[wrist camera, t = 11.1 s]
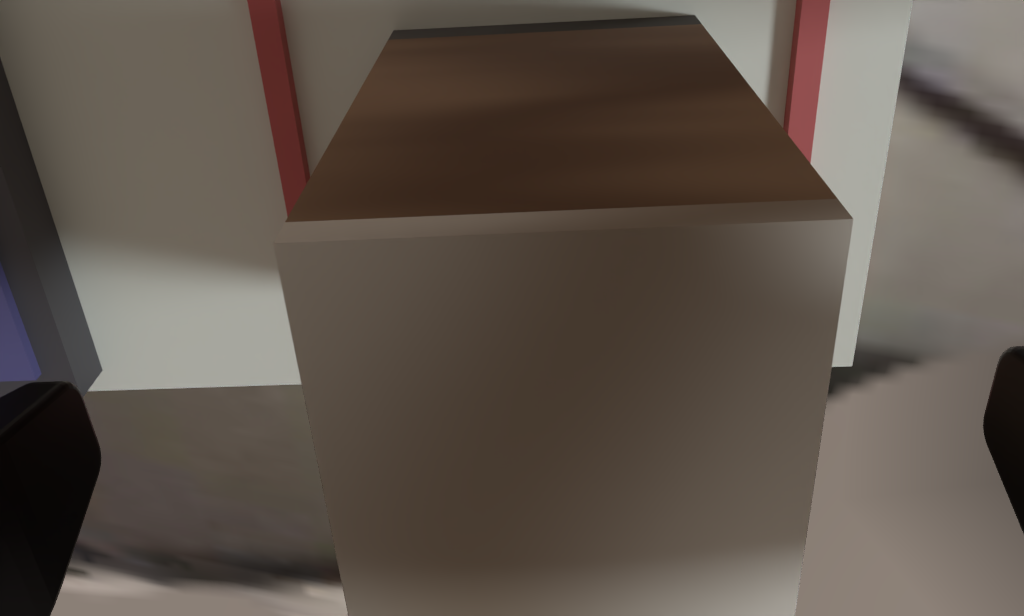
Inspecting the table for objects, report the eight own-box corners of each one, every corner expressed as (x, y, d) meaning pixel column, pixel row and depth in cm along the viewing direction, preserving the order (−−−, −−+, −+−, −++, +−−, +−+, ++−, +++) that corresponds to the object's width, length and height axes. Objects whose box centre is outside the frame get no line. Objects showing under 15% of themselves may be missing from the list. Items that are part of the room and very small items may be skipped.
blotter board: (916, -155, 13) (974, -147, 11) (838, 342, 17) (872, 401, 15) (-552, -78, 14) (-700, -60, 12) (-284, 380, 18) (-367, 440, 16)
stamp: (695, 14, 13) (853, 217, 7) (682, 283, 16) (792, 626, 9) (393, 30, 13) (272, 244, 7) (423, 293, 16) (352, 637, 9)
